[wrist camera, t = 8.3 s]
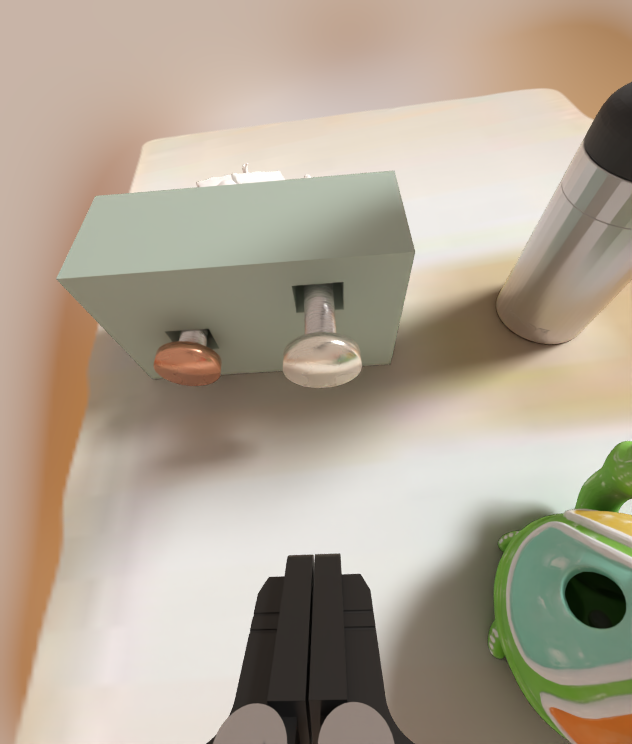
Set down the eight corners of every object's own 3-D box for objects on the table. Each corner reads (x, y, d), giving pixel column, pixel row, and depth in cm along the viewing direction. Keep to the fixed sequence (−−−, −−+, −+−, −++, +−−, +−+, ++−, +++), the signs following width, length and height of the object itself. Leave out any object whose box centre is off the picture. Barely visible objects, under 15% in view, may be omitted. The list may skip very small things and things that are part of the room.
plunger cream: (289, 269, 34) (280, 218, 29) (347, 265, 34) (347, 213, 29) (288, 389, 27) (276, 349, 23) (360, 385, 27) (363, 344, 22)
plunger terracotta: (190, 285, 40) (170, 246, 35) (239, 282, 40) (224, 241, 35) (170, 387, 34) (141, 355, 29) (228, 384, 33) (208, 351, 28)
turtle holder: (665, 505, 29) (842, 465, 19) (669, 795, 21) (979, 1002, 11) (507, 447, 32) (584, 386, 22) (460, 679, 24) (545, 754, 14)
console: (168, 309, 44) (95, 196, 31) (378, 294, 43) (394, 170, 30) (152, 379, 39) (56, 279, 26) (390, 364, 37) (415, 251, 25)
